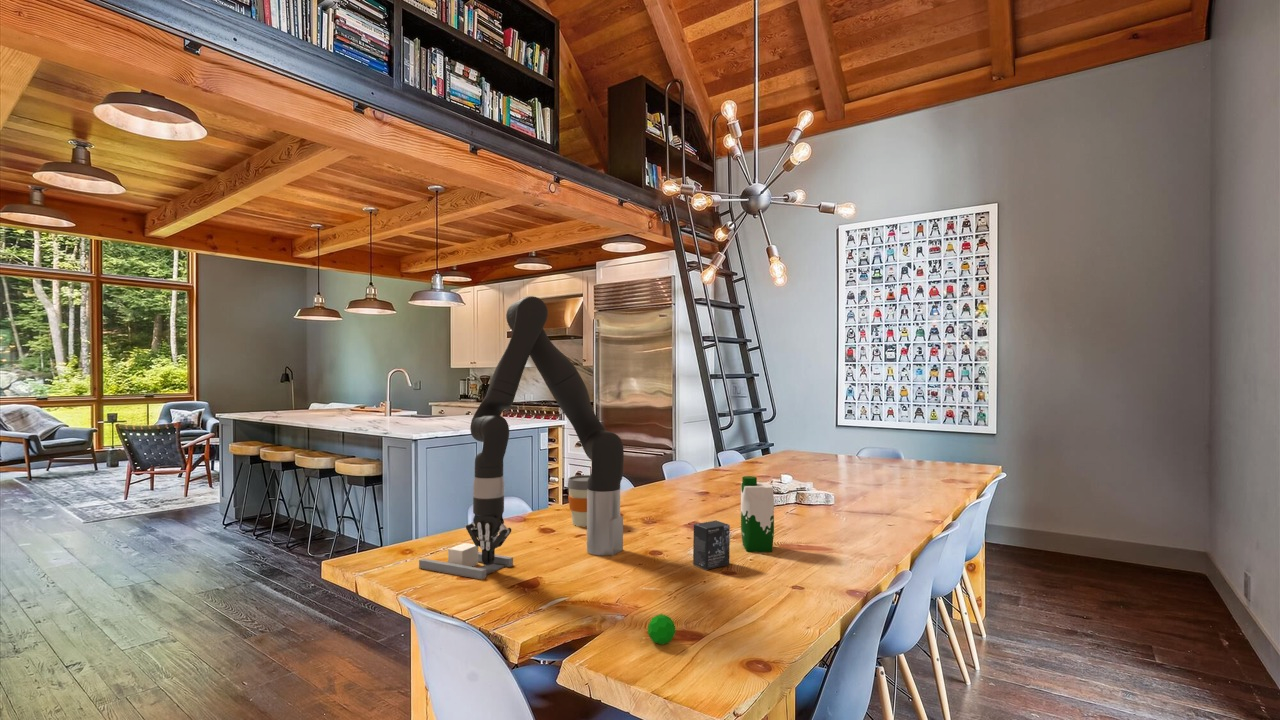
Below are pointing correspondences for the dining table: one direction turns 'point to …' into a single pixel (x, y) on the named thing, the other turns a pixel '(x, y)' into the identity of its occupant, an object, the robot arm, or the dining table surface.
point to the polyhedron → (661, 629)
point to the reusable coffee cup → (578, 499)
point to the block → (463, 554)
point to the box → (711, 545)
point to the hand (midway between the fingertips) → (488, 564)
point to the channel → (467, 567)
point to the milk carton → (757, 515)
